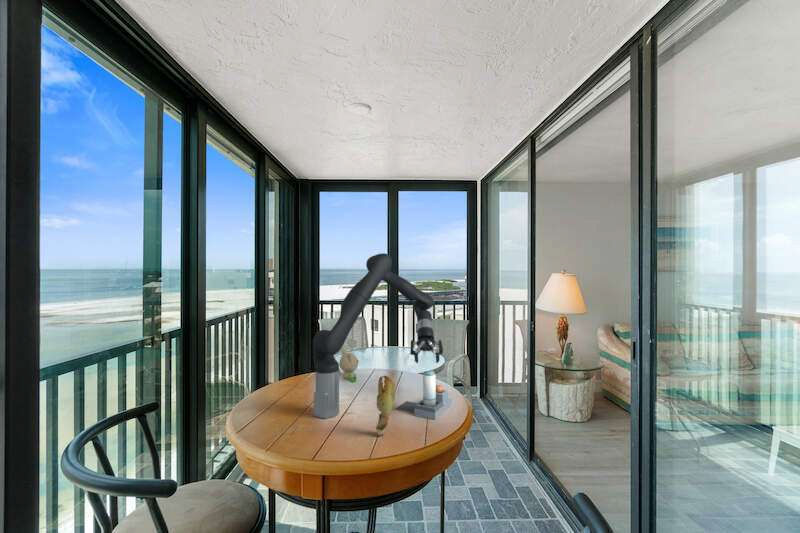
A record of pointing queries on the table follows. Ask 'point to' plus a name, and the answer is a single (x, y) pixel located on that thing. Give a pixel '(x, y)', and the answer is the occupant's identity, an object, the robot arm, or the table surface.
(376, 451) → the table surface
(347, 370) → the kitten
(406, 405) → the pad
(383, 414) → the crab claw
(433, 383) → the cartridge
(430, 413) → the housing
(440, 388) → the plunger
